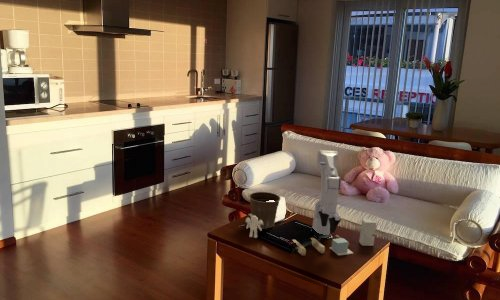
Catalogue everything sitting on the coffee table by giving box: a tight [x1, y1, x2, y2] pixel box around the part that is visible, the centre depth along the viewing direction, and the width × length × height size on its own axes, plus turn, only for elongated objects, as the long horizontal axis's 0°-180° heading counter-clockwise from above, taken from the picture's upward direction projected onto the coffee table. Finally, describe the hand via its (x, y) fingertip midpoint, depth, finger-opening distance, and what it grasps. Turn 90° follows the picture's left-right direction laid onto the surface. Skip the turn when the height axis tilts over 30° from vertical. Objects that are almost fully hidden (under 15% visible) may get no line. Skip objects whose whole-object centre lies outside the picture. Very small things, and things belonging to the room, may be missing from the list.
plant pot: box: [248, 191, 281, 230], centre depth 233 cm, size 16×16×16 cm
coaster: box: [329, 246, 354, 256], centre depth 210 cm, size 8×8×1 cm
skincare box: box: [358, 219, 377, 247], centre depth 219 cm, size 6×4×12 cm
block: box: [330, 237, 349, 254], centre depth 209 cm, size 6×4×5 cm
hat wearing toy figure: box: [245, 213, 263, 239], centre depth 219 cm, size 9×4×12 cm, turn 74°
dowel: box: [334, 234, 350, 247], centre depth 220 cm, size 12×2×2 cm, turn 21°
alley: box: [291, 236, 326, 256], centre depth 210 cm, size 11×12×3 cm
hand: (328, 229), depth 210 cm, fingers open, 7 cm apart
